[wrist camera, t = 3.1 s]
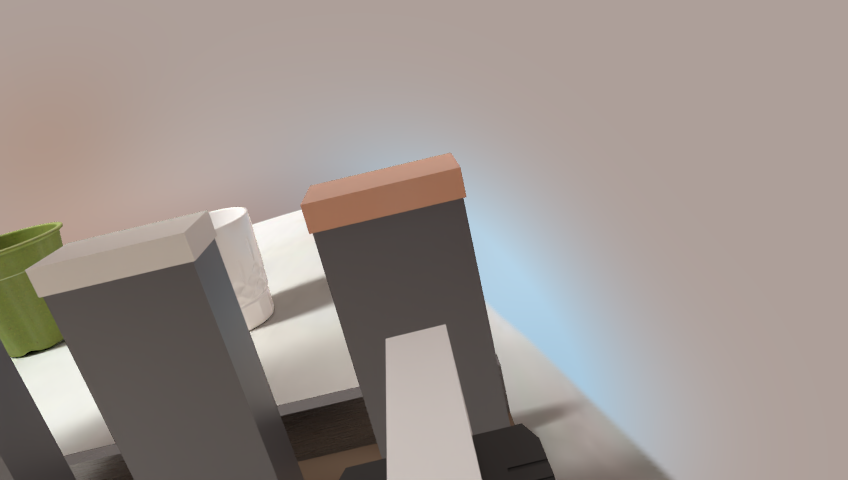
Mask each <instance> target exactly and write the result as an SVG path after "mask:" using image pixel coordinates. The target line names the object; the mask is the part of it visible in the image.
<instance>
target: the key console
mask: <svg viewBox="0 0 848 480" xmlns="http://www.w3.org/2000/svg"><path fill="white" fill-rule="evenodd" d="M496 359H497V363H498V368H499V373H500V378H501V383H502V388H503V392H504V397H505V402H506V407H507V412H508V417H509V421H510V426H513V425H514V422H513V419H512V416H511V413H510V409H509V405H508V400H507V395H506V390H505V385H504V380H503V375H502V370H501V366H500V362H499V360H498V357H497V354H496ZM277 408H278V411H279V413H280V416H281V419H282V421H283V424H284V427H285V430H286V432H287V435H288V438H289V440H290V443H291V446H292V448H293V451H294V454H295V457H296V459H297V462H298V465H299V467H300V470H301V473H302V476H303V478H304V480H339V479H340V477H341V475H342V473H343V472H344V470H345V468H347V467H351V466H355V465H359V464H364V463H368V462H372V461H376V460H380V459H382V457H381V454H380V451H379V448H378V444H377V441H376V438H375V434H374V431H373V428H372V425H371V421H370V418H369V415H368V412H367V408H366V405H365V402H364V399H363V395H362V392H361V389H360V387H356V388H351V389H347V390H343V391H339V392H334V393H330V394H326V395H322V396H317V397H313V398H309V399H305V400H300V401H296V402H292V403H288V404H283V405H279V406H277ZM64 458H65V460H66V461H67V463H68V465H69V467H70V469H71V471H72V472H73V474H74V476H75V478H76V480H134V479H133V477H132V475H131V473H130V471H129V469H128V467H127V465H126V463H125V461H124V459H123V457H122V455H121V453H120V451H119V449H118V447H117V445H116V444H113V445H108V446H104V447H100V448H96V449H91V450H87V451H83V452H79V453H74V454H70V455H66V456H64Z"/></svg>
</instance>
